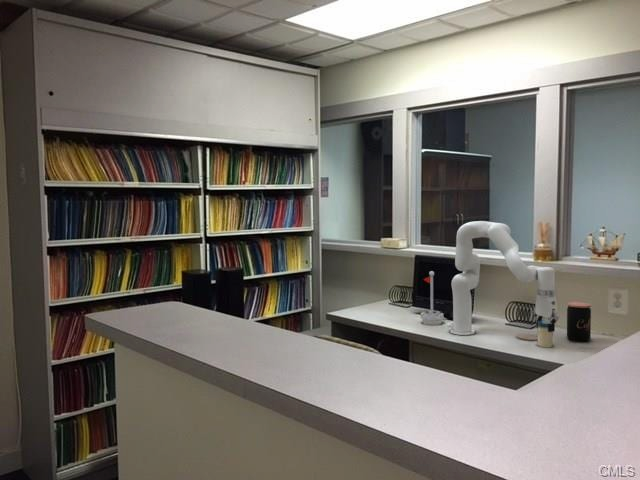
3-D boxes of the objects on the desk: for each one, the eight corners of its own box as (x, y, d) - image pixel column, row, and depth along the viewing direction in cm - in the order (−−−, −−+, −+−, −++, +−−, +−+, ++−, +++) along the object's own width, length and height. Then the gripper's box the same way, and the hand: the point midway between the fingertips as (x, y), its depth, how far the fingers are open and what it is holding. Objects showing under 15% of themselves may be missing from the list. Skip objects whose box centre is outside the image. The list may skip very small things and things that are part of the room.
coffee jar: (577, 343, 260) (578, 306, 259) (561, 338, 270) (562, 302, 269) (595, 341, 263) (596, 305, 262) (579, 336, 273) (579, 301, 272)
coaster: (514, 338, 271) (514, 337, 271) (521, 334, 280) (521, 333, 280) (536, 341, 265) (536, 340, 264) (543, 337, 273) (543, 336, 273)
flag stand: (446, 321, 313) (445, 270, 311) (440, 326, 302) (439, 273, 300) (424, 319, 319) (423, 269, 317) (417, 324, 308) (417, 272, 306)
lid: (542, 323, 262) (543, 319, 261) (556, 326, 256) (556, 322, 256) (534, 325, 258) (534, 321, 257) (548, 328, 252) (548, 324, 252)
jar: (535, 345, 257) (536, 324, 256) (539, 342, 262) (540, 321, 261) (550, 348, 253) (551, 326, 252) (553, 344, 258) (554, 323, 258)
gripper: (566, 295, 249) (565, 333, 250) (539, 289, 265) (538, 325, 266) (553, 296, 246) (552, 334, 248) (526, 291, 263) (526, 326, 264)
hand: (545, 329), depth 257 cm, fingers closed on lid, 6 cm apart
